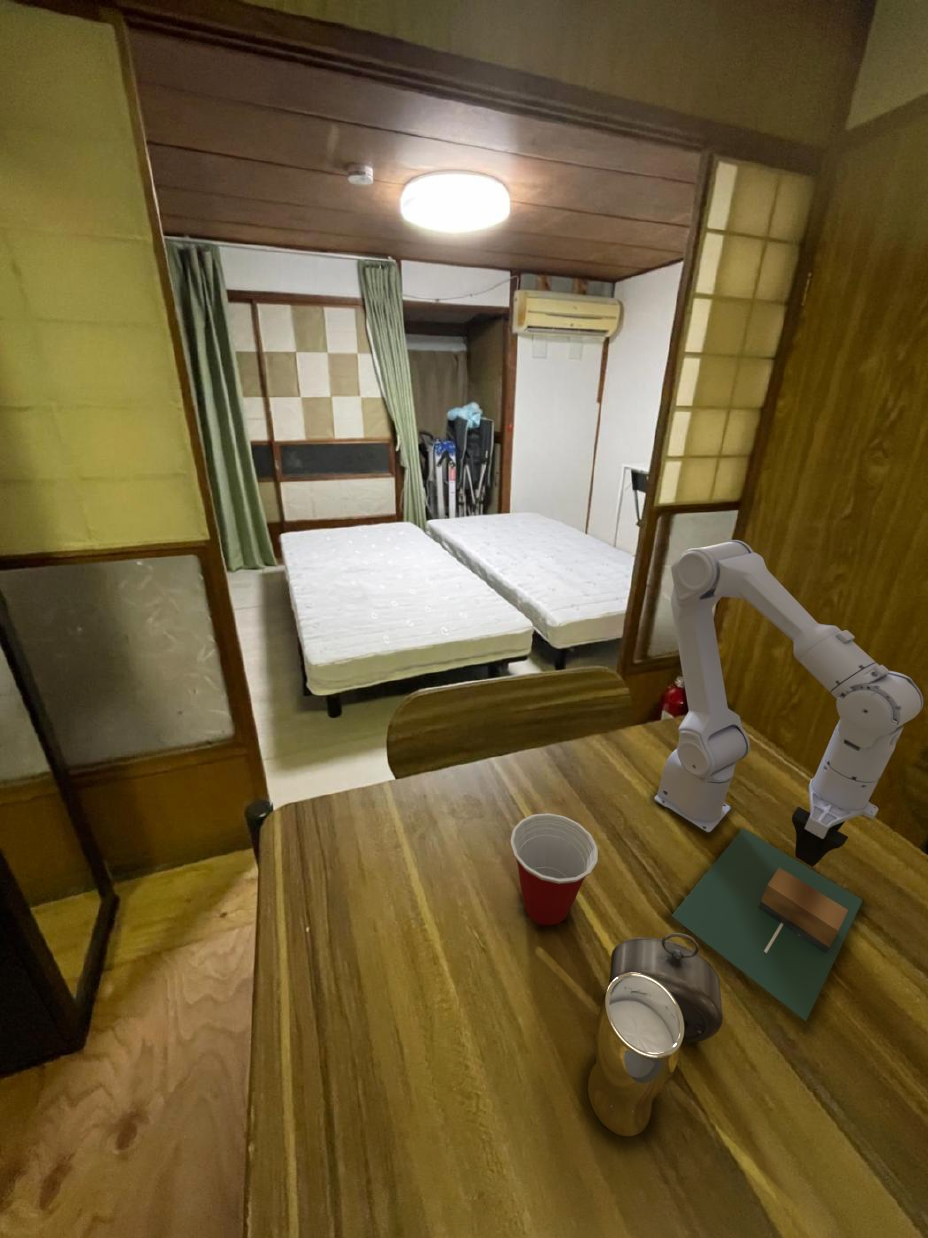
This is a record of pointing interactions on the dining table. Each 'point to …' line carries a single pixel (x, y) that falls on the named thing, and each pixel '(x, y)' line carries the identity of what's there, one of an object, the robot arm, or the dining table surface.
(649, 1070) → the beer glass
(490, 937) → the dining table surface
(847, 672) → the robot arm
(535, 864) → the plastic cup
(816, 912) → the eraser
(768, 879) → the chalkboard
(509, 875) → the dining table surface
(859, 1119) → the dining table surface
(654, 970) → the alarm clock
